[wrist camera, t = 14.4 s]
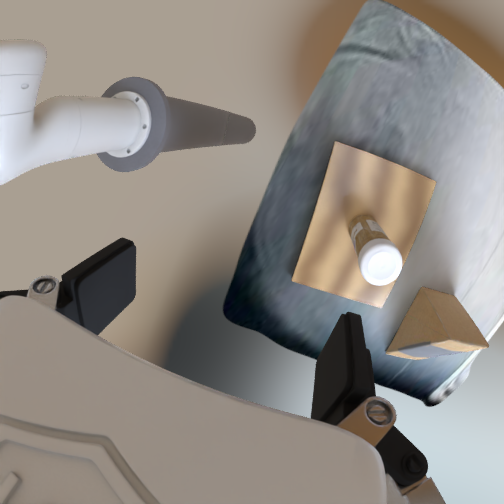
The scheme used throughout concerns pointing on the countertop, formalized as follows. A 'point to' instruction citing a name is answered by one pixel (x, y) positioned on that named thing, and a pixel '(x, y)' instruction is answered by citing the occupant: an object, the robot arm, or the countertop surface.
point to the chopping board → (349, 206)
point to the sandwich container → (435, 328)
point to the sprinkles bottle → (374, 251)
